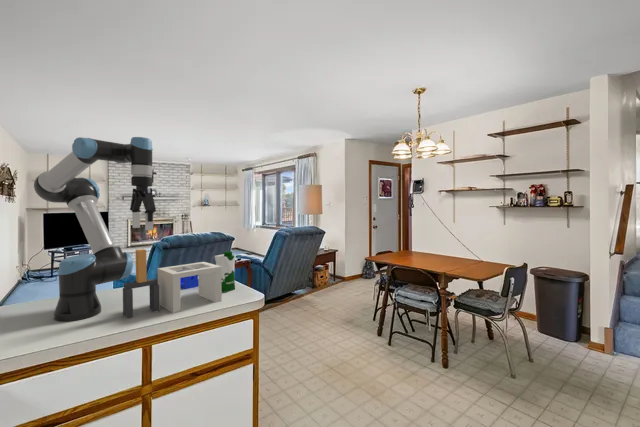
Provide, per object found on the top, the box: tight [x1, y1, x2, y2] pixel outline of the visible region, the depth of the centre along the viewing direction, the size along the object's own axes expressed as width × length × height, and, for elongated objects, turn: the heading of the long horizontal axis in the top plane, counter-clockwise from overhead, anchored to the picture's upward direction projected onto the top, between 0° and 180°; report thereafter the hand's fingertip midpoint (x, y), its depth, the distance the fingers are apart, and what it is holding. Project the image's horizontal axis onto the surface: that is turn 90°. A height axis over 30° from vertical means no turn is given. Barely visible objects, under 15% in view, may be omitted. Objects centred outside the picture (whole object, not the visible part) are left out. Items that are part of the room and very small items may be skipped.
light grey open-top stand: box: [157, 261, 223, 314], centre depth 145 cm, size 22×16×16 cm
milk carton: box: [214, 250, 237, 293], centre depth 166 cm, size 9×9×20 cm
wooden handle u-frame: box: [122, 248, 160, 319], centre depth 131 cm, size 12×5×26 cm, turn 138°
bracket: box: [180, 275, 199, 290], centre depth 176 cm, size 18×8×9 cm, turn 141°
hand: (142, 228), depth 131 cm, fingers open, 13 cm apart
